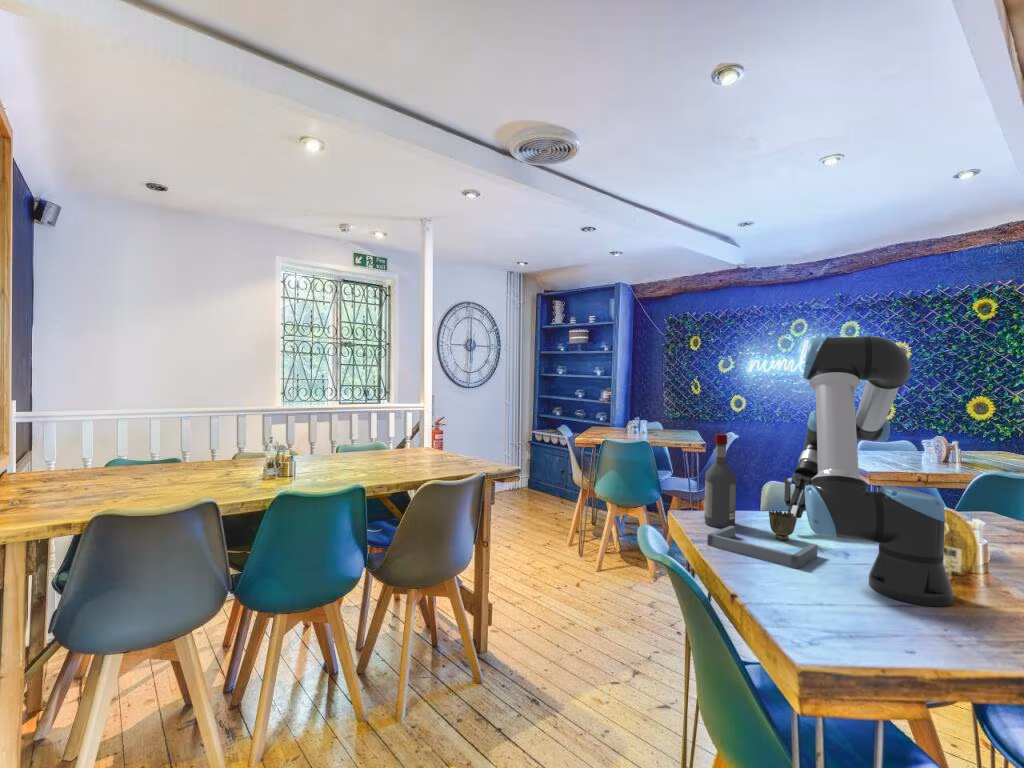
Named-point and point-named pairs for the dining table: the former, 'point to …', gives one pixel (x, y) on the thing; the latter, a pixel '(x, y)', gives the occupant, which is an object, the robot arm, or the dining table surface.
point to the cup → (782, 524)
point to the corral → (760, 549)
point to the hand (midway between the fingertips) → (790, 524)
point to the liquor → (720, 489)
